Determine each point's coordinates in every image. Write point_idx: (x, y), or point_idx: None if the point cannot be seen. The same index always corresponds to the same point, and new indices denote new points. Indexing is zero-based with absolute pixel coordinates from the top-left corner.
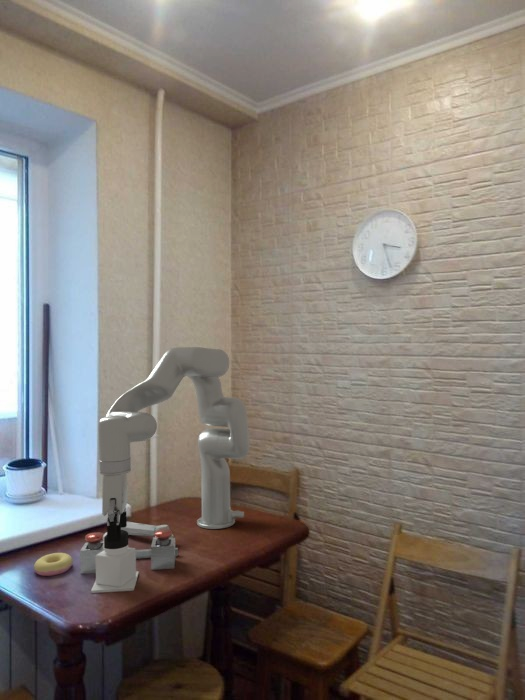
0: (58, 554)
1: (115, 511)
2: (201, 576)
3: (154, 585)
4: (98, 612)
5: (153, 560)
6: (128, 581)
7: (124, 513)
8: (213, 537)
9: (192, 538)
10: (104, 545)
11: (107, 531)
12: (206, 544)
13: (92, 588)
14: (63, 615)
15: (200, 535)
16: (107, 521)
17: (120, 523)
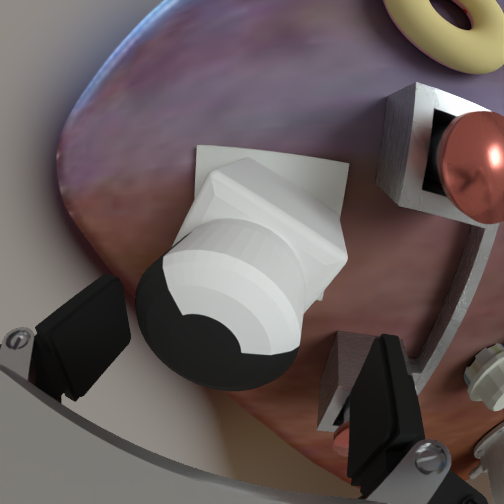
0: (494, 28)
1: (413, 446)
2: (250, 408)
3: None
4: (94, 184)
5: (335, 355)
6: None
7: (349, 472)
8: (451, 437)
9: (477, 409)
10: (185, 237)
11: (65, 306)
12: (427, 431)
13: (213, 148)
14: (92, 101)
15: (479, 419)
16: (1, 347)
17: (361, 390)
